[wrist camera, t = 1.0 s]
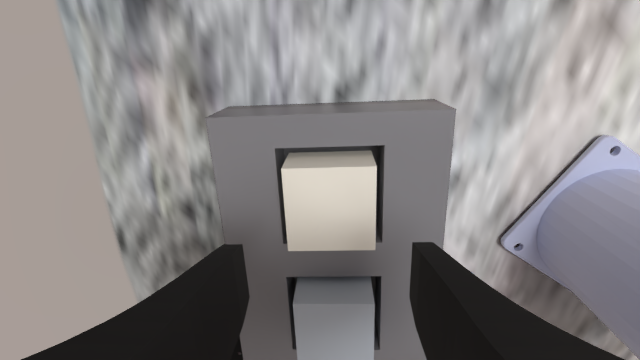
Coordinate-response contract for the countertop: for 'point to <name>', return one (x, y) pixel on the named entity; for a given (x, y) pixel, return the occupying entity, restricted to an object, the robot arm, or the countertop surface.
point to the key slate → (334, 318)
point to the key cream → (330, 200)
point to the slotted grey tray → (285, 266)
